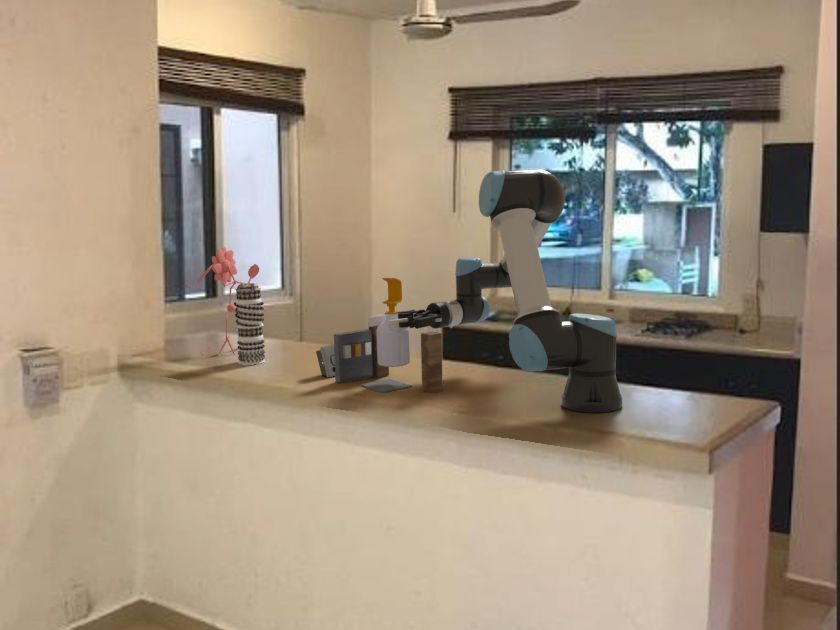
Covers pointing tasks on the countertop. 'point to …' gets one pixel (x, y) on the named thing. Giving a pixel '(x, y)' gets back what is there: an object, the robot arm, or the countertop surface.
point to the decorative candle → (249, 324)
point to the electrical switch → (326, 360)
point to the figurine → (227, 277)
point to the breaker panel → (353, 355)
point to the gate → (429, 360)
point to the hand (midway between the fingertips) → (378, 323)
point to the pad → (386, 385)
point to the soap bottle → (396, 341)
